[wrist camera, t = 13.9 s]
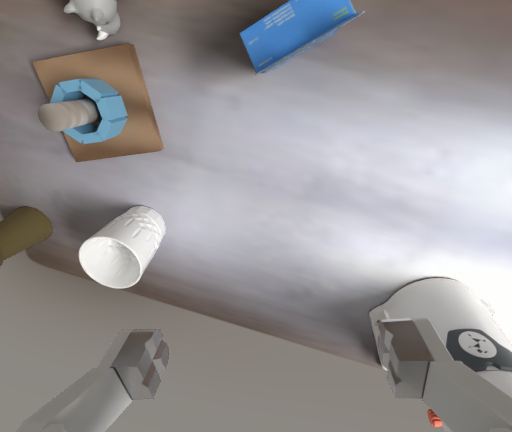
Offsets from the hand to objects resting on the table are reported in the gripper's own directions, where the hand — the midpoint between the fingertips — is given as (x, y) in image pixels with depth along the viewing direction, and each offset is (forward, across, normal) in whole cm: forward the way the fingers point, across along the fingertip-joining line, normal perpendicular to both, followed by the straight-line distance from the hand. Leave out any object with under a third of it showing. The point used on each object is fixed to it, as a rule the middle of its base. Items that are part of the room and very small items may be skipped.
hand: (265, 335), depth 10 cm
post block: (+29, +21, -8) cm, 37 cm away
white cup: (+29, +22, +9) cm, 38 cm away
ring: (+28, +21, -8) cm, 35 cm away
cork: (+29, +40, +7) cm, 50 cm away
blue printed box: (+29, -3, -12) cm, 32 cm away
